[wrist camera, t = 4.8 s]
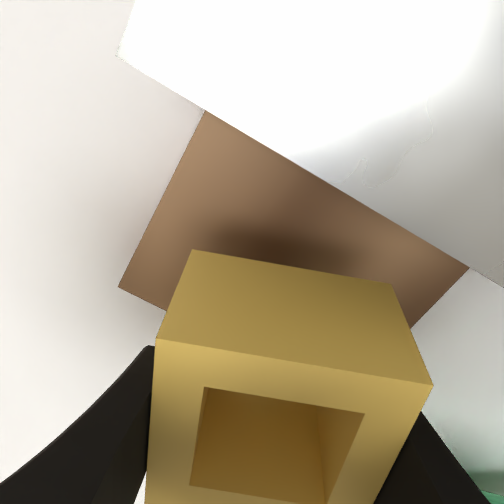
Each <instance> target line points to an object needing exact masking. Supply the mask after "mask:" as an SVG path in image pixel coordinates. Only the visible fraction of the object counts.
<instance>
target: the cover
mask: <svg viewBox="0 0 504 504" xmlns="http://www.w3.org/2000/svg"><path fill="white" fill-rule="evenodd" d="M116 57H118V58H120V59H121V60H123V61H125V62H126V63H128V64H130V65H131V66H133V67H135V68H136V69H138V70H140V71H141V72H143V73H145V74H146V75H148V76H150V77H151V78H153V79H155V80H157V81H158V82H160V83H162V84H163V85H165V86H167V87H168V88H170V89H172V90H173V91H175V92H177V93H178V94H180V95H182V96H183V97H185V98H187V99H188V100H190V101H192V102H193V103H195V104H197V105H198V106H200V107H202V108H203V109H205V110H207V111H208V112H210V113H212V114H213V115H215V116H217V117H219V118H220V119H222V120H224V121H225V122H227V123H229V124H230V125H232V126H234V127H235V128H237V129H239V130H240V131H242V132H244V133H245V134H247V135H249V136H250V137H252V138H254V139H255V140H257V141H259V142H260V143H262V144H264V145H265V146H267V147H269V148H270V149H272V150H274V151H276V152H277V153H279V154H281V155H282V156H284V157H286V158H287V159H289V160H291V161H292V162H294V163H296V164H297V165H299V166H301V167H302V168H304V169H306V170H307V171H309V172H311V173H312V174H314V175H316V176H317V177H319V178H321V179H322V180H324V181H326V182H327V183H329V184H331V185H332V186H334V187H336V188H338V189H339V190H341V191H343V192H344V193H346V194H348V195H349V196H351V197H353V198H354V199H356V200H358V201H359V202H361V203H363V204H364V205H366V206H368V207H369V208H371V209H373V210H374V211H376V212H378V213H379V214H381V215H383V216H384V217H386V218H388V219H389V220H391V221H393V222H394V223H396V224H398V225H400V226H401V227H403V228H405V229H406V230H408V231H410V232H411V233H413V234H415V235H416V236H418V237H420V238H421V239H423V240H425V241H426V242H428V243H430V244H431V245H433V246H435V247H436V248H438V249H440V250H441V251H443V252H445V253H446V254H448V255H450V256H451V257H453V258H455V259H457V260H458V261H460V262H462V263H463V264H465V265H467V266H468V267H470V268H472V269H473V270H475V271H477V272H478V273H480V274H482V275H483V276H485V277H487V278H488V279H490V280H492V281H493V282H495V283H497V284H498V285H500V286H502V287H503V288H504V0H136V2H135V5H134V8H133V11H132V13H131V16H130V19H129V21H128V24H127V27H126V29H125V32H124V35H123V37H122V40H121V43H120V46H119V48H118V51H117V54H116Z"/></svg>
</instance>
